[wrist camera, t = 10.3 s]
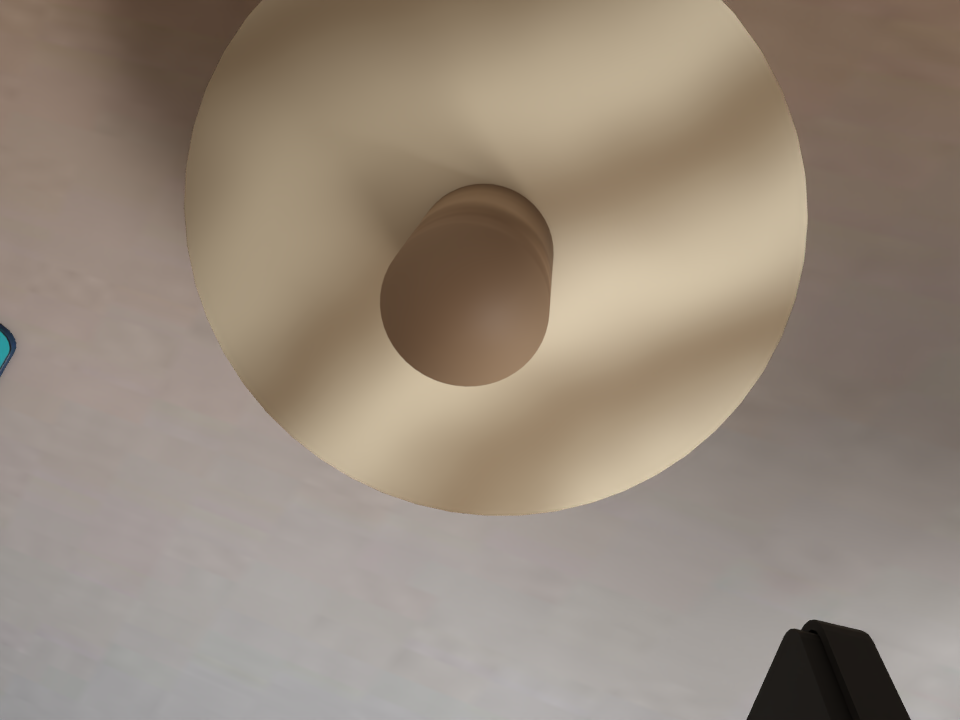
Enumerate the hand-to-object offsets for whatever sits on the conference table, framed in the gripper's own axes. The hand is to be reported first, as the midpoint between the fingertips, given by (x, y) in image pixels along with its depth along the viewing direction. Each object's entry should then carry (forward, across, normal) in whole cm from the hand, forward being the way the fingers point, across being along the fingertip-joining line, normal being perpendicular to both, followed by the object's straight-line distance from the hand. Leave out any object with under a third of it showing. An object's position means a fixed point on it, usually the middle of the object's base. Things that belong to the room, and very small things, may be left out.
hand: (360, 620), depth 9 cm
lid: (+17, 0, 0) cm, 17 cm away
